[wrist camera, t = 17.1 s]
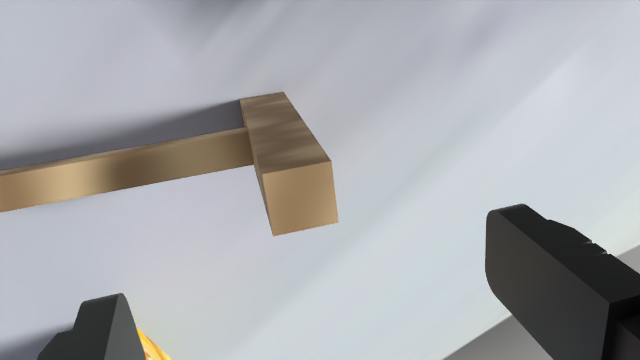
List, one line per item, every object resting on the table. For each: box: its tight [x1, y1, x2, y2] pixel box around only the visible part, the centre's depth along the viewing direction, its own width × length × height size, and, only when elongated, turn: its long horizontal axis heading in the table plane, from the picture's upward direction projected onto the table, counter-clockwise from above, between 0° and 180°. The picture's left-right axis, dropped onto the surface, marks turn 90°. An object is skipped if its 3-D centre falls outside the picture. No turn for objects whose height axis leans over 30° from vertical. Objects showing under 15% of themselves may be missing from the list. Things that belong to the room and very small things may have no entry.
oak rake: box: [0, 92, 338, 236], centre depth 27 cm, size 28×5×14 cm, turn 97°
